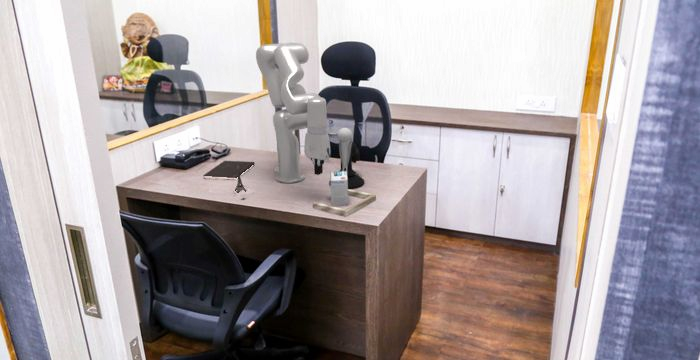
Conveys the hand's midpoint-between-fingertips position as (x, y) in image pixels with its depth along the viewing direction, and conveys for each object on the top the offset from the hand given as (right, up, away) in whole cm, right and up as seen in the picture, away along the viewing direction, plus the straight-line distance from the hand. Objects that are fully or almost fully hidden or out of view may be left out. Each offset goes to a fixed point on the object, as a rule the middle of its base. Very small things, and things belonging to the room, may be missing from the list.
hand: (318, 173), depth 208 cm
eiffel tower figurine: (-33, -9, +11) cm, 36 cm away
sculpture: (+12, -3, +22) cm, 25 cm away
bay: (+11, -12, -4) cm, 16 cm away
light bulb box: (+8, -11, -1) cm, 14 cm away
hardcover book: (-44, +1, +39) cm, 59 cm away
